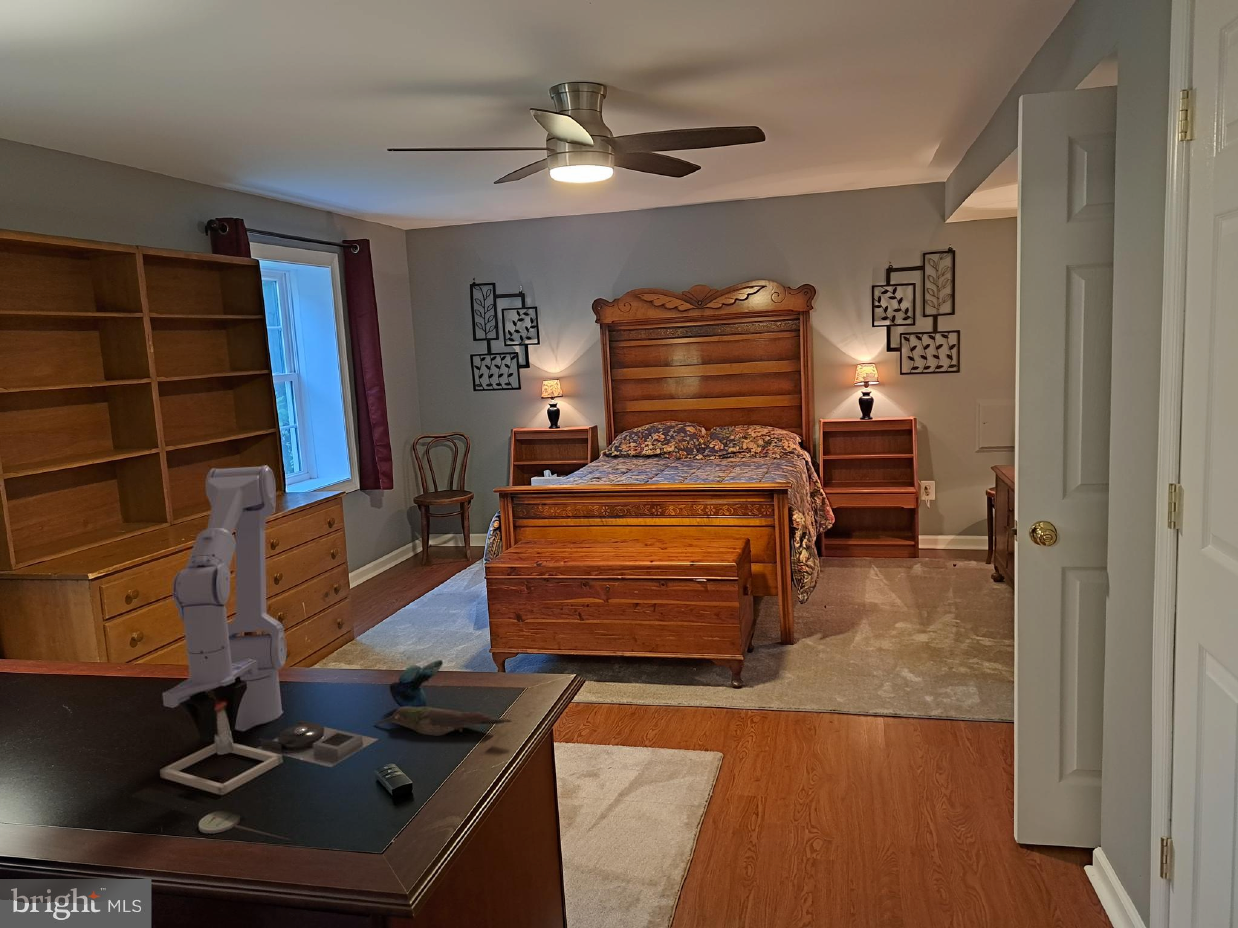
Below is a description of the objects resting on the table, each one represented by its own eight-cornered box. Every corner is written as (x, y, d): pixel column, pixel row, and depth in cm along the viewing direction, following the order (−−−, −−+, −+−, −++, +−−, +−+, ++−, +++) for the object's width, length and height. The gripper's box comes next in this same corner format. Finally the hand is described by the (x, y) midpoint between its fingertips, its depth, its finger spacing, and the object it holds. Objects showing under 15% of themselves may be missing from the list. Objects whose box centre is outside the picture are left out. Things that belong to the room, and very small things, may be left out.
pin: (209, 755, 129) (198, 705, 128) (225, 744, 132) (215, 696, 131) (225, 756, 128) (215, 706, 127) (241, 745, 131) (232, 697, 130)
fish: (441, 721, 147) (437, 664, 146) (386, 718, 149) (381, 662, 148) (451, 710, 151) (447, 655, 150) (397, 708, 153) (393, 653, 152)
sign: (275, 848, 110) (189, 825, 116) (275, 854, 111) (190, 831, 117) (304, 827, 115) (221, 806, 121) (305, 833, 115) (221, 811, 121)
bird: (517, 735, 141) (515, 705, 140) (505, 749, 136) (503, 718, 135) (377, 725, 147) (375, 696, 146) (361, 738, 142) (358, 709, 141)
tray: (161, 784, 129) (159, 769, 129) (223, 753, 139) (221, 739, 138) (223, 802, 123) (221, 787, 123) (283, 769, 132) (281, 755, 132)
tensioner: (257, 755, 137) (255, 737, 137) (306, 729, 146) (304, 712, 146) (331, 774, 130) (329, 755, 130) (378, 746, 139) (377, 728, 138)
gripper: (181, 667, 120) (192, 760, 122) (267, 634, 133) (276, 719, 134) (149, 661, 123) (160, 752, 125) (236, 629, 136) (245, 712, 138)
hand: (218, 735), depth 130 cm, fingers closed on pin, 3 cm apart
